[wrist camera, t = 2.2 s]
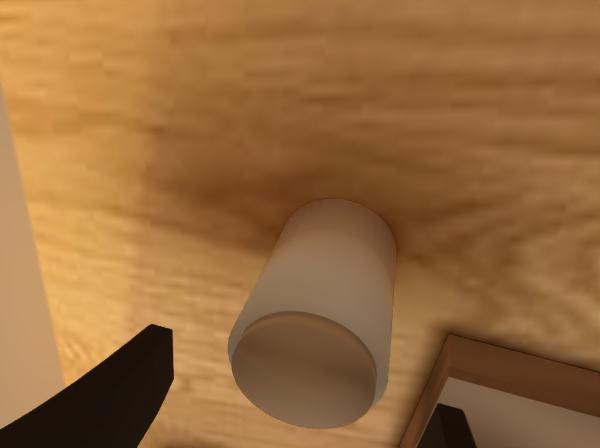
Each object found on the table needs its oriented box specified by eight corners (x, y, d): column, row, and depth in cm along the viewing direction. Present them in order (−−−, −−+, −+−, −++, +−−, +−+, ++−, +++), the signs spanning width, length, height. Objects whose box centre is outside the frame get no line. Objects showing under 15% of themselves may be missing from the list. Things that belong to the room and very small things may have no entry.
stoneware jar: (287, 186, 17) (224, 295, 11) (410, 214, 16) (407, 343, 11) (275, 281, 19) (218, 409, 14) (381, 308, 18) (366, 453, 13)
